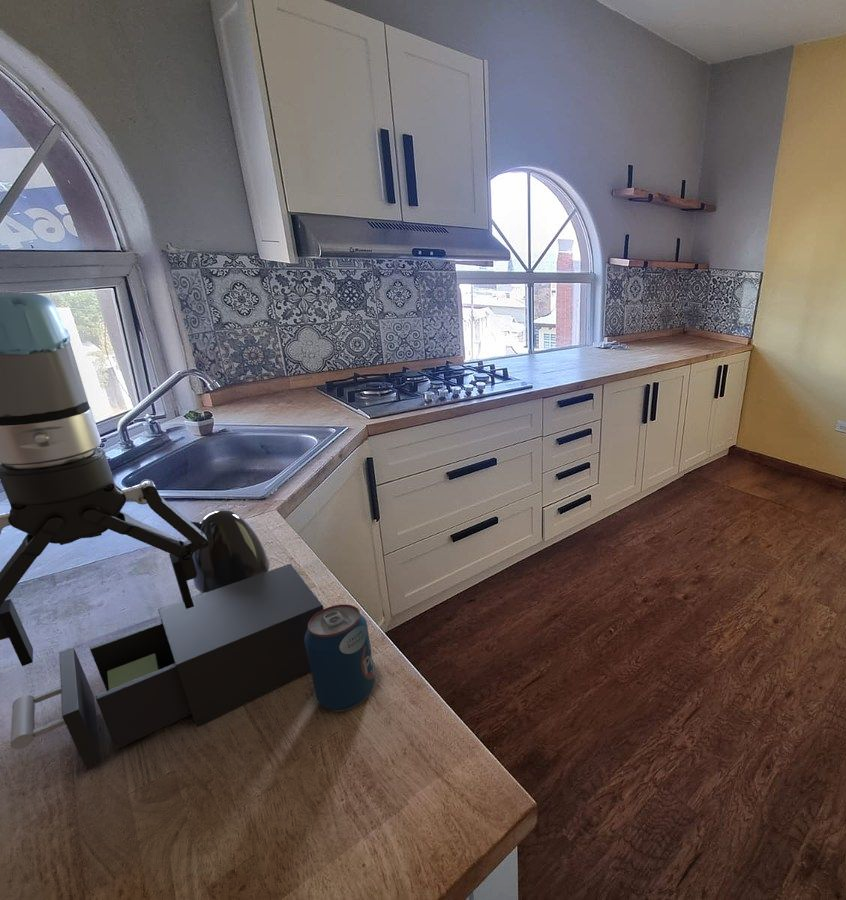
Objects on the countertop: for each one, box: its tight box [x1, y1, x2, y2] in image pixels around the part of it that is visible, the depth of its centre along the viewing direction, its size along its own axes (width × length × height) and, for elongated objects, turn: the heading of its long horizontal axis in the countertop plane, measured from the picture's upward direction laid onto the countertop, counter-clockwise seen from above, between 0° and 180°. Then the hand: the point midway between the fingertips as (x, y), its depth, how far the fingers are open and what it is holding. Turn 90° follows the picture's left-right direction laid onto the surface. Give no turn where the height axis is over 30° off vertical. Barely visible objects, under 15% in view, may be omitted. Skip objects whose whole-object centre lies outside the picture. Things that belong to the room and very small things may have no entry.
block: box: [107, 653, 161, 690], centre depth 60 cm, size 4×4×4 cm
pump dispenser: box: [189, 509, 271, 594], centre depth 81 cm, size 10×10×15 cm
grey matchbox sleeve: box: [157, 563, 325, 728], centre depth 68 cm, size 16×14×10 cm
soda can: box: [304, 603, 376, 712], centre depth 63 cm, size 7×7×12 cm
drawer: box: [10, 620, 192, 771], centre depth 60 cm, size 19×12×8 cm, turn 136°
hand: (114, 628), depth 57 cm, fingers open, 13 cm apart
